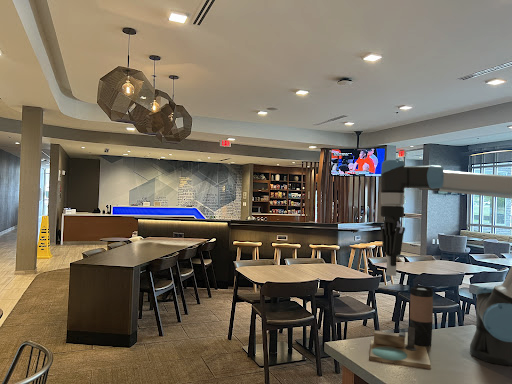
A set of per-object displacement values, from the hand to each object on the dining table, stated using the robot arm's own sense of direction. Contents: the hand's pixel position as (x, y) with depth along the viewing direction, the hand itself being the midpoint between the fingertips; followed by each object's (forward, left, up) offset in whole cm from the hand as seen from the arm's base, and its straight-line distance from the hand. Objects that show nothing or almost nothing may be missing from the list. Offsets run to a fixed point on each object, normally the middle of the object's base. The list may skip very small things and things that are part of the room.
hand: (391, 275), depth 134 cm
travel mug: (-11, -14, -26) cm, 32 cm away
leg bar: (0, -4, -24) cm, 25 cm away
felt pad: (0, +4, -25) cm, 25 cm away
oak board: (-3, +1, -26) cm, 26 cm away
